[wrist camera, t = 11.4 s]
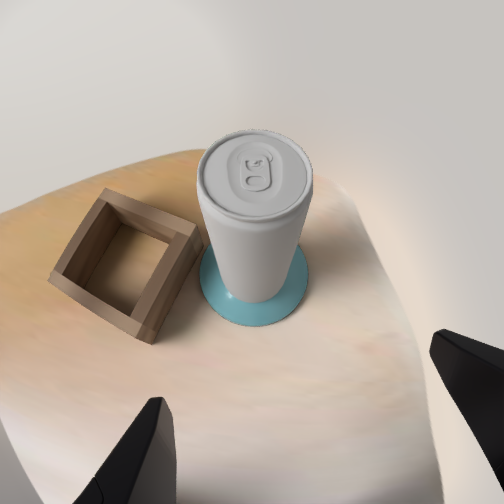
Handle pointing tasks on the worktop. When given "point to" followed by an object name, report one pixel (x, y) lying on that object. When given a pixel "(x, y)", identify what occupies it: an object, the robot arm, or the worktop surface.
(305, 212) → the beverage can
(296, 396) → the worktop surface
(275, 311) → the teal disc
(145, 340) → the square wooden frame
